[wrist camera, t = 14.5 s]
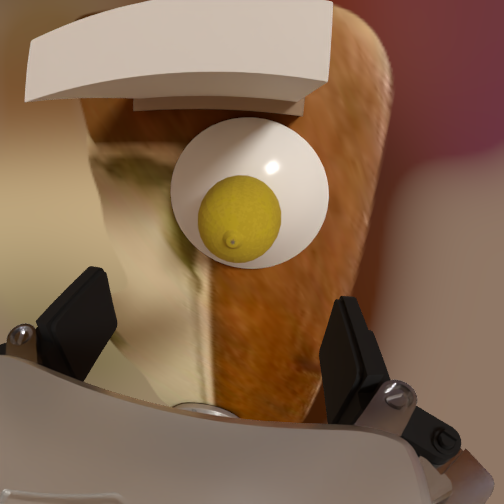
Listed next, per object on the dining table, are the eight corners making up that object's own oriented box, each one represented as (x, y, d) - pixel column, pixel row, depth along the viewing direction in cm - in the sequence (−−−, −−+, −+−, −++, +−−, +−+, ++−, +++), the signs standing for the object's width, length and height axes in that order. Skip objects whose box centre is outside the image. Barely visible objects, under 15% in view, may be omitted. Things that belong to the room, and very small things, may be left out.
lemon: (272, 236, 24) (272, 292, 17) (208, 225, 24) (181, 275, 17) (286, 173, 21) (293, 203, 14) (215, 161, 21) (186, 185, 14)
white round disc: (312, 269, 26) (314, 275, 25) (176, 255, 26) (173, 260, 26) (336, 128, 20) (339, 128, 19) (175, 115, 20) (171, 115, 20)
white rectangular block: (300, 116, 20) (340, 114, 8) (143, 110, 20) (18, 125, 8) (305, 58, 18) (348, -17, 5) (147, 56, 18) (27, 25, 6)
